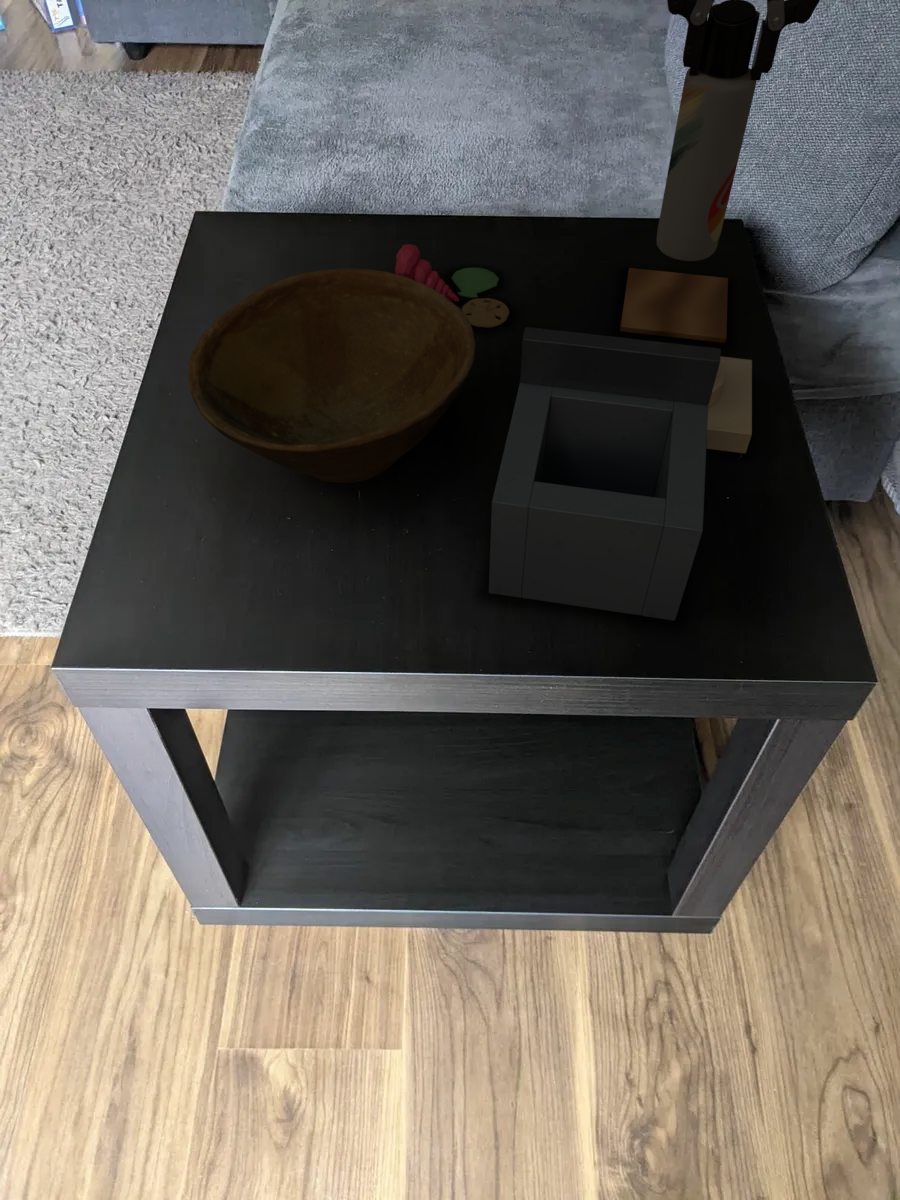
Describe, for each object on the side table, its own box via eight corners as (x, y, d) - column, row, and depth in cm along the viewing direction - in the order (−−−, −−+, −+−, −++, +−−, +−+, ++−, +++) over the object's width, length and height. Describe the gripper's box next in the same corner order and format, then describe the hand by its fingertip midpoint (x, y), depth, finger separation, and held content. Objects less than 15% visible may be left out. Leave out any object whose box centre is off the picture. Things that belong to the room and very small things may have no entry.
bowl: (191, 396, 85) (163, 301, 77) (427, 340, 89) (424, 245, 82) (244, 570, 72) (217, 478, 64) (516, 494, 77) (522, 400, 69)
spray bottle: (726, 239, 87) (784, 1, 72) (702, 269, 84) (757, 27, 69) (670, 222, 89) (715, -14, 74) (645, 251, 86) (686, 11, 71)
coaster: (726, 282, 95) (728, 277, 94) (725, 343, 89) (726, 338, 88) (628, 272, 96) (629, 267, 95) (619, 331, 90) (620, 326, 89)
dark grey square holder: (683, 487, 77) (721, 348, 66) (675, 621, 69) (716, 487, 58) (516, 465, 79) (525, 326, 68) (488, 593, 71) (493, 458, 59)
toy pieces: (382, 330, 90) (379, 290, 87) (401, 264, 97) (399, 225, 94) (505, 339, 89) (507, 299, 86) (516, 272, 96) (518, 233, 93)
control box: (746, 379, 85) (757, 343, 82) (745, 453, 79) (757, 418, 76) (615, 364, 87) (620, 328, 84) (604, 436, 81) (610, 400, 78)
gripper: (669, -190, 60) (631, 88, 74) (899, -181, 58) (817, 102, 72) (675, -219, 65) (638, 48, 78) (889, -212, 63) (813, 60, 76)
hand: (724, 72), depth 75 cm, fingers closed on spray bottle, 4 cm apart
